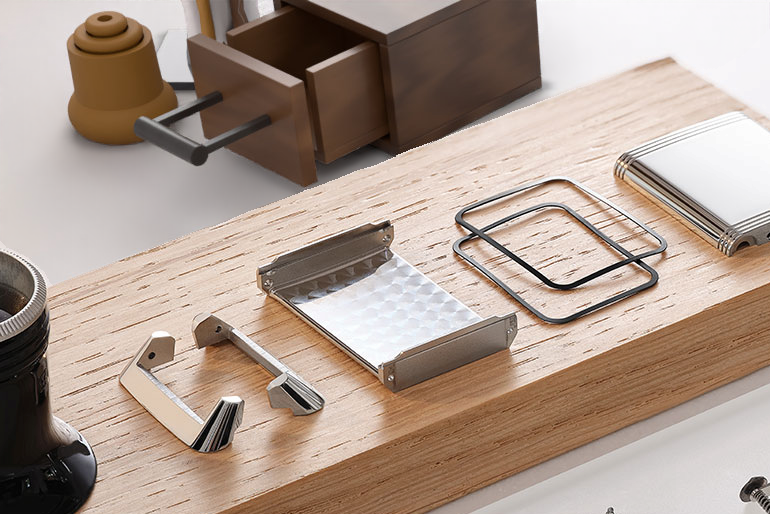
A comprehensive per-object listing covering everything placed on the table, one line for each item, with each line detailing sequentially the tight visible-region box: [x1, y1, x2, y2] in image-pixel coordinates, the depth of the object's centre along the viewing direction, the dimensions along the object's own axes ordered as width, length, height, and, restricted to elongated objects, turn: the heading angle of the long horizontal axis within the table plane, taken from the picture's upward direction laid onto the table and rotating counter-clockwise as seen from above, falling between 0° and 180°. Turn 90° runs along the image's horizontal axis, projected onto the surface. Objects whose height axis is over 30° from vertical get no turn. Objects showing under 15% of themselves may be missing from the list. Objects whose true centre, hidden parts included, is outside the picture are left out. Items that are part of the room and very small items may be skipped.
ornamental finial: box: [66, 10, 179, 146], centre depth 145 cm, size 8×8×8 cm
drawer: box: [133, 4, 390, 189], centre depth 141 cm, size 19×11×7 cm, turn 140°
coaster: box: [156, 29, 195, 90], centre depth 155 cm, size 11×8×1 cm
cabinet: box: [272, 0, 543, 157], centre depth 148 cm, size 14×12×9 cm
